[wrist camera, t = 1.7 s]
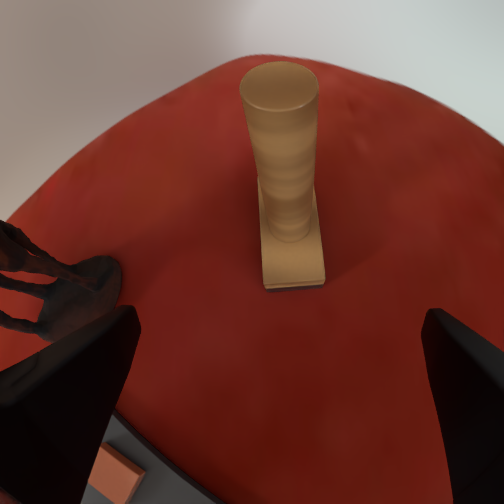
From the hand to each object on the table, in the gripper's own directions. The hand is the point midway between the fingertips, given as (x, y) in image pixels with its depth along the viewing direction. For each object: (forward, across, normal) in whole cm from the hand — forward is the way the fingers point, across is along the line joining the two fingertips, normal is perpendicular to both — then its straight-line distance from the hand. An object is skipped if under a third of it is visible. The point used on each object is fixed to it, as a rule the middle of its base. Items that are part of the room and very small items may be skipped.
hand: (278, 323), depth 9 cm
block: (+1, +12, +17) cm, 21 cm away
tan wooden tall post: (+15, 0, +4) cm, 16 cm away
